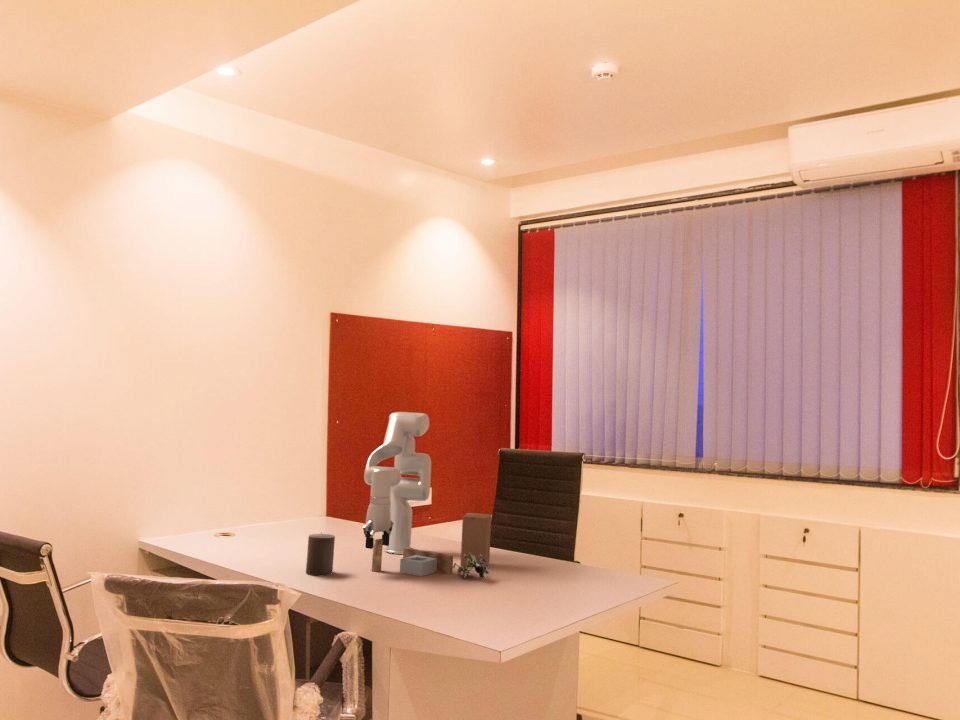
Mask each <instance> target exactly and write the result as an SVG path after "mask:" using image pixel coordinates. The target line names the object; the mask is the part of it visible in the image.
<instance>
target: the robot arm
mask: <svg viewBox="0 0 960 720" xmlns="http://www.w3.org/2000/svg"><path fill="white" fill-rule="evenodd" d="M429 428H430V417H429V416H428V414H427V413H425V412H424V413H423V412H409V411H395V412H392V413H390V414H389V416H388V423H387V428H386V432H385V435H384V439H383V444H381V445H380V446H379V447H377V448H376V449H375V450H374V451H373V452H372V453H371V454H370V455H369V456H368V459H367V460H366V461H367V462H366V465H365V469H364V473H363V476H364V477H363V478H364V479H363V480H364V482H365V484H366V485H368V486H370V498H369V505H368V508H367V510H366V511H367V512H366V515H365V516H366V517H365V524H364V525H363V526H362V529H363V534H364V537H365V545H364V546H365V548H366V549H368V550H369V549H371V550H373V541H374V539H375V538H374V535H375V533H381V532H382V533H383V534H381V539H383V545H382V546H386V547H384V552H385V551H386V552H385V553H387V552H389V553H388V554H392V553H394V555H403V550H404V548H412V549H414V548H413V547H411V544H412V525H413V523H412V522H413V509H412V506H411V504H410V503H409V502H408V501H416V502H426V501H427V500H428V499H429V497H430V492H431V480H432V479H431V475H432V459H431V457H430V455H429V454H427V453H424V452H416V451H415V450H416V439H415V438H414V437H421V436H423V435H425V433H426V432H427V431H428V430H429ZM393 457H394V461H393V462H394V467H393V466H378V464H379V463H380V462H382V461H384V460H388V459H390V458H393ZM402 475H411V476H418V477H419V478H418V477H417V478H414V477H403V476H402Z"/></svg>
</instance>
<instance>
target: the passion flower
mask: <svg viewBox="0 0 960 720" xmlns="http://www.w3.org/2000/svg"><path fill="white" fill-rule="evenodd" d="M468 555H469V557H468V556H466V555H464V556H465V558H466V559H467V565H465V564H464V565H463V566H461V565H458V564H457V562H453V569H455V567H456V566H457V567H458V568H457V573H458V576H460V574H461V573H462V575H463V580H465V579H466V577H467V576H468V575H469V574H470V572H471V570H472V569H473V568H474V570H475V572H476V573H477V574H478V575H479V578H480V579H482V578H483V579H485V578H486V577H485V574H490V572H489V571H488V568H487V566H486V565H483V563H484V562H486V560H485V558H484V557H483V556H482V555H481V554H480V555H479V557H480V558H481V560H483V561H484V562H482V561H481V560H479V559H477V558H476V557H475V556H474V555H471V553H468ZM469 565H472V567H469Z"/></svg>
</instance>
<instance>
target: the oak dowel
mask: <svg viewBox="0 0 960 720" xmlns="http://www.w3.org/2000/svg"><path fill="white" fill-rule="evenodd" d="M383 546H384V545H383V539H382V538H374V541H373V549H372V562H371V572H373V573H380V571H381V572H382V564H383V563H382V561H383Z"/></svg>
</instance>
